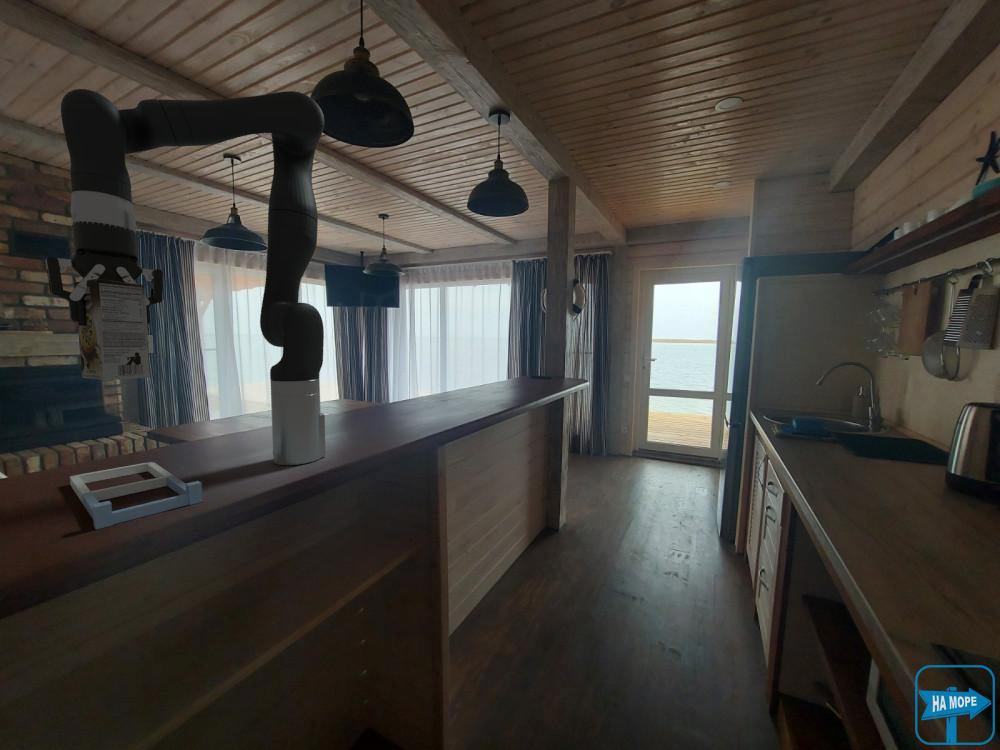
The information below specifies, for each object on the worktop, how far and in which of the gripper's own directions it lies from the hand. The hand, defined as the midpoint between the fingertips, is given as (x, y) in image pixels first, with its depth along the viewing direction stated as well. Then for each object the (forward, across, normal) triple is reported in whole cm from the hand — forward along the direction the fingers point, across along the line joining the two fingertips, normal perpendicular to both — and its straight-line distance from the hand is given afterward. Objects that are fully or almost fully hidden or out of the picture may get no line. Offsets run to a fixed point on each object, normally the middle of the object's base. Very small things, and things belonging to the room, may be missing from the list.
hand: (112, 326), depth 66 cm
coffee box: (+9, 0, 0) cm, 9 cm away
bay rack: (+28, 0, +6) cm, 28 cm away
